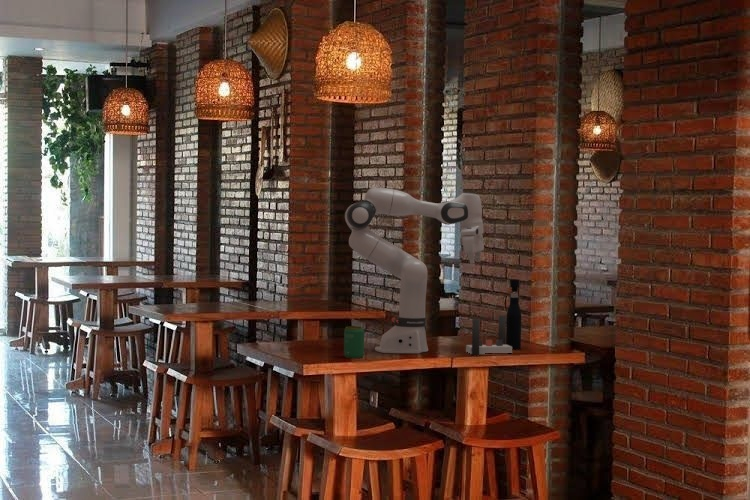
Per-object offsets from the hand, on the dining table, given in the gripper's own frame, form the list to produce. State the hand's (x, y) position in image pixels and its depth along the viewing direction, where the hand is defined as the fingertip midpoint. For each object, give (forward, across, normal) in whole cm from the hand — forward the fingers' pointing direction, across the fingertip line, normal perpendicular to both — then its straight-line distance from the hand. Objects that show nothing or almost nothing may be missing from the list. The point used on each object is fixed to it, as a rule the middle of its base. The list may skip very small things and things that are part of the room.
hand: (475, 262), depth 449 cm
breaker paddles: (+35, +5, +5) cm, 36 cm away
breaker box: (+38, +5, +5) cm, 38 cm away
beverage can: (+33, +42, -42) cm, 68 cm away
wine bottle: (+39, -13, +11) cm, 43 cm away
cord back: (+38, -5, +8) cm, 39 cm away
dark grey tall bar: (+37, +15, +1) cm, 40 cm away
